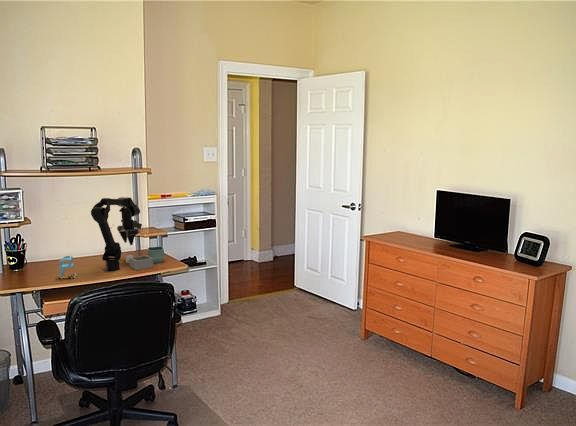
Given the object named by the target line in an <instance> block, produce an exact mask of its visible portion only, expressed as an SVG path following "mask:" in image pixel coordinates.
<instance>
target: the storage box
mask: <svg viewBox="0 0 576 426" xmlns="http://www.w3.org/2000/svg"><path fill="white" fill-rule="evenodd" d="M129 267H130V268H131V269H133V270H135V271H142V270H147V269H152V268H154V263H153V258H151V257H149V255H146V254H145V255H140V256H133V257H132V258H130V263H129Z"/></svg>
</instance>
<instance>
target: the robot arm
mask: <svg viewBox="0 0 576 426" xmlns="http://www.w3.org/2000/svg"><path fill="white" fill-rule="evenodd" d="M137 205H138V204H135V202H134V201H133V198H132V197H127V196H126V197H123V196H122V197H118V198H109V197H103V198H101V199H100V201H99V202H97V203H96V204H94V205H93V207H92V209H91V210H90V214H91V217H92V219H93V220H94V221H95V222H96V223H97V224H98V227H99V229H100V232H101V235H102V237H103V241H104V243H105V246H104V252H103V254H102V257H101V258H102V261H105V269H104V270H105V271H106V272H109V273H110V272H115V271H120V269H121V267H120V261H121V259H122V247H121V243H120V242H116V241H115V238H114V236H113V234H112V230H111V227H110V225H109V223H108V219H109V212H110V211H111V206H118V207H120V209H118V210H119V211H118V212H120V214H121V220H120V222H121V224H122V225H118V226H117V227H116V230H117V231H118V233H119V235H120V237H121V239H122V240H123V242H124V243H125V244H126V243H127V242H128V243H129V245H130V246H133V244H134V241H135V240H134V239H135V237H136V236H137V235H138V234H139V230H141V229H142V226H143V224H142V223H140V222H138V221H137V220H134V219H133V217H136V216H139V215H140V213H141V209H140V208H139V206H137ZM104 206H105V207H104Z"/></svg>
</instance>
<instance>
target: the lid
mask: <svg viewBox="0 0 576 426" xmlns="http://www.w3.org/2000/svg"><path fill="white" fill-rule="evenodd" d="M132 257H134V255H133V254H131V255H126V256H125V260H123V261H121V262H123V263H124V262H125V263H127V264H130V258H132Z"/></svg>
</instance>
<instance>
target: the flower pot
mask: <svg viewBox="0 0 576 426" xmlns="http://www.w3.org/2000/svg"><path fill="white" fill-rule="evenodd" d="M147 253H148V256H149V257H151V258H153V264H159V263H163V261H164V260H163V259H164V256H165V249H164V247H163V245H161V246H160V245H159V246H152V247H151V246H150V247H147Z"/></svg>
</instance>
